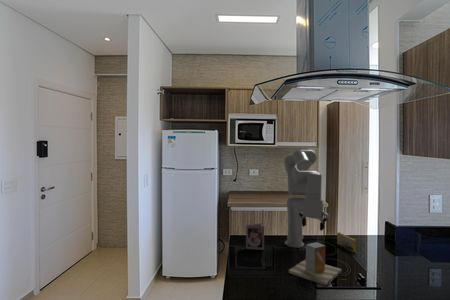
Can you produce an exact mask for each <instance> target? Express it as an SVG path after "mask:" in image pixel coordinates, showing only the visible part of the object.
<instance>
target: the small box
mask: <svg viewBox="0 0 450 300" xmlns="http://www.w3.org/2000/svg"><path fill="white" fill-rule="evenodd" d="M305 259H306V267H305V268H306V269H307V270H309V271H311V272H313V273H316V272H319V271H323V270H325V265H326V245H324V244H322V243H320V242H318V241H316V242H311V243H308V244H306V245H305Z"/></svg>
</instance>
